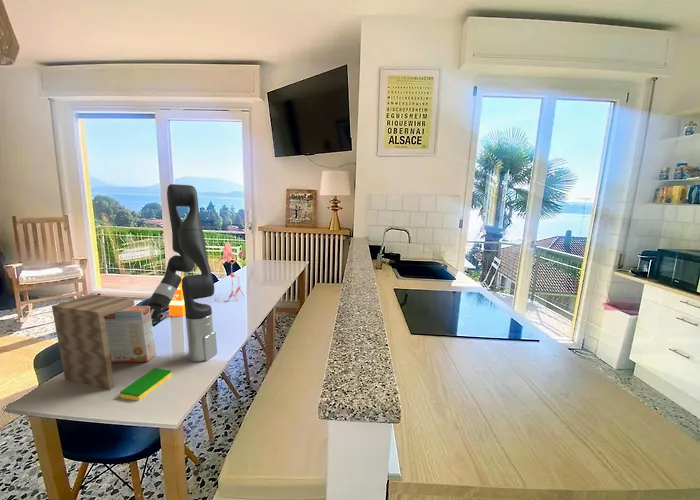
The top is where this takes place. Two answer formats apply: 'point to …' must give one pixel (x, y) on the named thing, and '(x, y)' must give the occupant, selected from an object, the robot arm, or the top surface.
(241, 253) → the figurine
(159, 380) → the dish sponge
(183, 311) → the orange juice
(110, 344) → the cracker box
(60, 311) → the walnut shelf
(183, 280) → the robot arm
